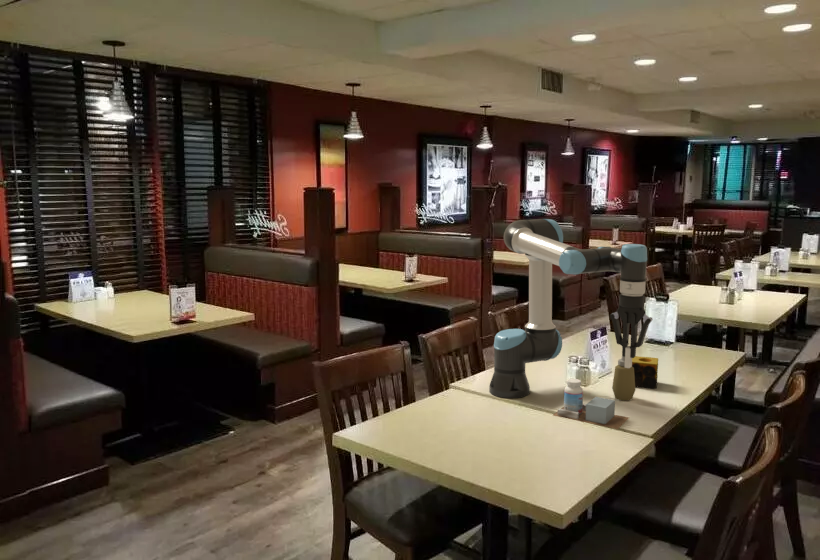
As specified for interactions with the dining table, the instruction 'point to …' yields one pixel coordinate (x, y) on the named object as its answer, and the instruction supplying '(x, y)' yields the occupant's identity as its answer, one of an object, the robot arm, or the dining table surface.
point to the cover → (600, 410)
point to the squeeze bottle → (623, 381)
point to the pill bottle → (573, 396)
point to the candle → (645, 372)
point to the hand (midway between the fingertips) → (628, 366)
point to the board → (612, 423)
